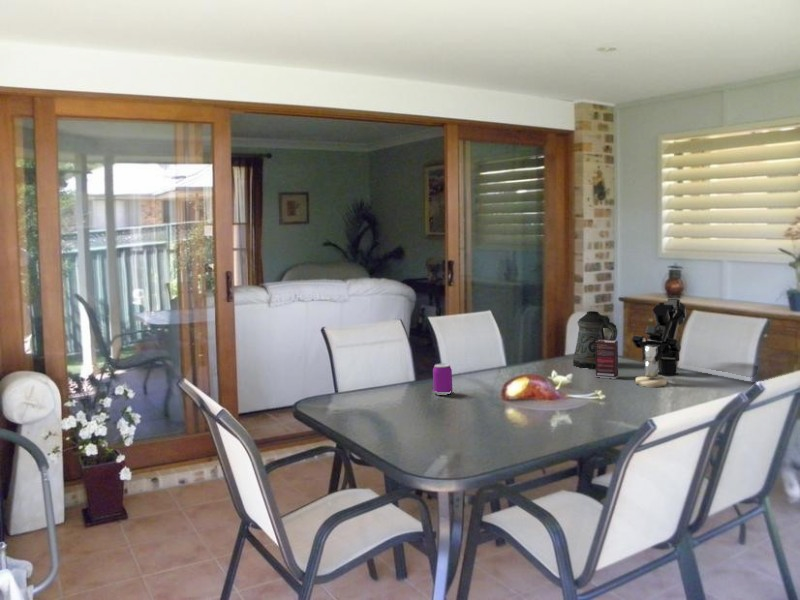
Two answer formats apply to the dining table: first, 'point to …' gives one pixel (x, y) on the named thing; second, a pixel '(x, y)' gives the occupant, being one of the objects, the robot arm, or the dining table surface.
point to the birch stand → (651, 381)
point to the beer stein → (591, 338)
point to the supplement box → (606, 359)
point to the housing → (651, 361)
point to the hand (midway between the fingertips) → (649, 360)
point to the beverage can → (442, 377)
